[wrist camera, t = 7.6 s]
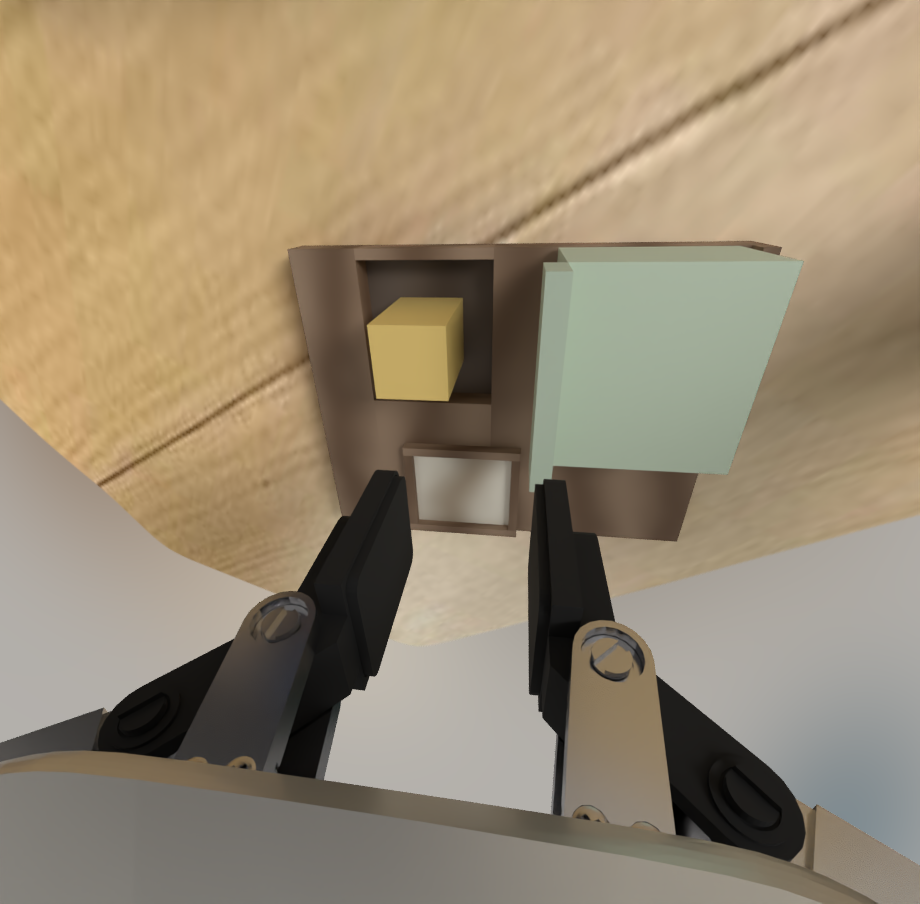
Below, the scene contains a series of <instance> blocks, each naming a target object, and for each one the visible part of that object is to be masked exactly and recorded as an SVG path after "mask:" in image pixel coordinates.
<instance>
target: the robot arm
mask: <svg viewBox="0 0 920 904" xmlns="http://www.w3.org/2000/svg"><path fill="white" fill-rule="evenodd" d="M412 559H413V547H412V537H411V527H410V518H409V508H408V498H407V488H406V480H405V477H404V476H399V474H398V471H394V470H376V471H375V472H374V474H373V475H372V477H371V479H370V481H369V483H368V485H367V486H366V488H365V490H364V492H363V494H362V496H361V497H360V499H359V501H358V503H357V505H356V507H355V508H354V510H353V512H352V514H351V516H342V517H341V518H340V519H339V520H338V522H337V523H336V525H335V527H334V529H333V530H332V532H331V534H330V536H329V537H328V539H327V541H326V542H325V544H324V546H323V548H322V549H321V551H320V553H319V555H318V556H317V558H316V560H315V562H314V563H313V565H312V567H311V569H310V570H309V572H308V574H307V576H306V577H305V579H304V581H303V583H302V584H301V586H300V588H299V589H298V591H297V592H295V591H288V592H281V593H278V594H275V595H272V596H270V597H268V598H266V599H264V600H263V601H261V602H259V603H258V604H257V605H256V606H255V607H254V608H253V609H252V610H251V611H250V612H249V613H248V615H247V616H246V618H245V619H244V621H243V623H242V625H241V627H240V629H239V631H238V633H237V635H236V637H235V639H233V640H231V641H229V642H227V643H225V644H223V645H221V646H219V647H217V648H215V649H213V650H211V651H209V652H208V653H206V654H204V655H202V656H200V657H198V658H196V659H194V660H192V661H190V662H188V663H186V664H184V665H182V666H181V667H179V668H177V669H175V670H173V671H171V672H169V673H167V674H165V675H163V676H161V677H159V678H157V679H155V680H153V681H151V682H149V683H148V684H146V685H144V686H142V687H140V688H139V689H137V690H135V691H134V692H132V693H131V694H129V695H128V696H127V697H125V698H124V699H123V700H122V701H121V702H120V703H119V704H118V705H116V707H115V708H114V709H113V710H112V711H110V712H107V711H106V709H105V708H101V709H98V710H96V711H93V712H89V713H86V714H83V715H81V716H78V717H75V718H72V719H69V720H66V721H63V722H60V723H57V724H54V725H51V726H48V727H46V728H42V729H40V730H37V731H34V732H31V733H28V734H25V735H22V736H19V737H16V738H13V739H10V740H7V741H5V742H1V743H0V904H920V865H918V864H916V863H915V862H913V861H911V860H910V859H908V858H906V857H904V856H903V855H901V854H899V853H898V852H896V851H894V850H893V849H891V848H889V847H888V846H886V845H884V844H883V843H881V842H879V841H878V840H876V839H874V838H872V837H871V836H869V835H868V834H866V833H864V832H863V831H861V830H859V829H857V828H856V827H854V826H852V825H851V824H849V823H847V822H846V821H844V820H842V819H841V818H839V817H837V816H836V815H834V814H832V813H831V812H829V811H827V810H825V809H824V808H822V807H821V806H819V805H816V806H815V807H814V808H813V809H812V808H810V807H808V806H806V805H805V804H803V803H802V802H800V801H798V800H797V799H795V797H794V795H793V794H792V793H791V791H790V790H789V788H788V787H787V786H786V784H785V783H784V781H783V780H782V779H781V778H780V777H779V776H778V775H777V774H776V773H775V772H773V770H772V769H771V768H770V767H768V766H767V765H766V764H765V763H764V762H762V761H761V760H760V759H759V758H758V757H756V756H755V755H754V754H753V753H751V752H750V751H749V750H748V749H746V748H745V747H744V746H743V745H742V744H740V743H739V742H738V741H736V740H735V739H734V738H733V737H732V736H731V735H729V734H728V733H727V732H726V731H724V730H723V729H722V728H721V727H719V726H718V725H717V724H716V723H715V722H713V721H712V720H711V719H710V718H708V717H707V716H706V715H705V714H703V713H702V712H701V711H700V710H699V709H697V708H696V707H695V706H694V705H692V704H691V703H690V702H689V701H687V700H686V699H685V698H684V697H683V696H681V695H680V694H679V693H678V692H676V691H675V690H674V689H673V688H671V687H670V686H669V685H668V684H667V683H665V682H664V681H663V680H662V679H660V678H659V677H658V676H657V675H656V672H655V664H654V659H653V656H652V653H651V650H650V649H649V647H648V645H647V644H646V643H645V641H644V640H643V639H642V638H641V637H640V636H639V635H638V634H637V633H636V632H635V631H633V630H631V629H630V628H628V627H626V626H624V625H622V624H619V623H616V622H615V619H614V615H613V609H612V605H611V600H610V595H609V590H608V586H607V581H606V576H605V571H604V566H603V562H602V557H601V552H600V547H599V543H598V538H597V535H596V534H595V533H587V532H573V529H572V522H571V514H570V507H569V500H568V493H567V486H566V481H565V480H556V479H544V480H543V484H535V490H534V502H533V514H532V526H531V538H530V550H529V563H528V620H529V694H530V695H538V703H539V704H538V705H539V712H542V716H543V719H544V720H545V721H546V722H547V723H548V724H549V726H550V727H551V728H552V729H553V730H554V731H555V732H556V733H557V736H556V751H555V764H554V777H553V791H552V806H551V814H544V813H538V812H532V811H525V810H519V809H512V808H505V807H499V806H493V805H486V804H480V803H473V802H467V801H460V800H453V799H447V798H440V797H433V796H427V795H420V794H413V793H407V792H400V791H393V790H386V789H379V788H373V787H365V786H359V785H353V784H346V783H339V782H332V781H326V780H324V776H325V772H326V767H327V763H328V758H329V754H330V750H331V745H332V741H333V737H334V732H335V728H336V724H337V719H338V715H339V711H340V706H341V700H343V699H344V698H346V697H347V696H349V695H350V694H351V691H352V689H356V690H365V688H366V685H367V682H368V679H369V676H376V675H377V673H378V671H379V668H380V664H381V661H382V658H383V655H384V651H385V648H386V645H387V642H388V639H389V635H390V632H391V629H392V626H393V622H394V619H395V616H396V613H397V609H398V606H399V603H400V600H401V596H402V593H403V590H404V587H405V583H406V580H407V577H408V574H409V570H410V567H411V564H412Z"/></svg>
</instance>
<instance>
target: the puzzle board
mask: <svg viewBox="0 0 920 904" xmlns="http://www.w3.org/2000/svg"><path fill="white" fill-rule="evenodd" d="M662 246H743V247H747V248H751V249H755V250H759V251H764V252H768V253H772V254H776V255H780V252H781V249H782V247H778V246H773V245H768V244H763V243H758V242H754V241H727V242H631V243H534V244H437V245H340V246H300V247H296V248H291V249H288V254H289V259H290V264H291V269H292V274H293V279H294V284H295V288H296V293H297V298H298V303H299V308H300V313H301V318H302V323H303V327H304V332H305V337H306V342H307V347H308V352H309V357H310V362H311V367H312V371H313V376H314V381H315V386H316V391H317V396H318V401H319V406H320V410H321V415H322V420H323V425H324V430H325V435H326V440H327V445H328V449H329V454H330V459H331V464H332V469H333V474H334V479H335V484H336V489H337V493H338V498H339V503H340V508H341V513H342V516H351V514H352V512H353V510H354V508H355V507H356V505H357V503H358V501H359V499H360V497H361V496H362V494H363V492H364V490H365V488H366V486H367V485H368V483H369V481H370V479H371V477H372V475H373V474H374V472H375V471H376V470H394V471H398V474H399V476H404V477H405V480H406V488H407V498H408V508H409V518H410V527H411V530H424V531H437V532H451V533H465V534H479V535H493V536H507V537H516V530H521V531H531V526H532V514H533V502H534V492H529V455H530V441H531V427H532V414H533V400H534V386H535V372H536V358H537V344H538V330H539V317H540V303H541V289H542V275H543V262H557V259H558V248H559V247H662ZM400 297H424V298H463V336H464V361H463V364H462V366H461V369H460V372H459V374H458V377H457V380H456V382H455V385H454V388H453V390H452V393H451V396H450V398H449V401H431V400H402V399H376V391H375V383H374V376H373V368H372V360H371V353H370V345H369V337H368V329H367V325H368V324H369V323H370V322H371V321H372V320H374V319H375V318H376V317H377V316H378V315H380V314H381V313H382V312H383V311H385V310H386V309H387V308H388V307H389V306H391V305H392V304H393V303H394V302H395V301H397V300H398V299H399V298H400ZM697 476H698V473H685V472H666V471H646V470H627V469H607V468H588V467H568V466H553V470H552V479H556V480H565V481H566V486H567V493H568V500H569V507H570V514H571V522H572V529H573V532H587V533H595V534H596V535H597V536H606V537H621V538H635V539H649V540H663V541H677V539H678V536H679V533H680V530H681V527H682V523H683V520H684V517H685V514H686V511H687V507H688V504H689V501H690V498H691V495H692V492H693V488H694V485H695V482H696V479H697Z"/></svg>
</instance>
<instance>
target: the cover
mask: <svg viewBox="0 0 920 904" xmlns="http://www.w3.org/2000/svg"><path fill="white" fill-rule="evenodd" d="M803 262H804V261H801V260H797V259H793V258H789V257H784V256H780V255H776V254H772V253H768V252H764V251H759V250H755V249H751V248H747V247H743V246H662V247H559V248H558V259H557V262H543V275H542V289H541V303H540V317H539V330H538V344H537V358H536V372H535V386H534V400H533V414H532V427H531V441H530V455H529V492H534V490H535V484H543V480H544V479H552V470H553V466H568V467H588V468H607V469H627V470H646V471H666V472H685V473H705V474H724V475H728V472H729V469H730V467H731V464H732V461H733V458H734V455H735V453H736V450H737V447H738V444H739V441H740V439H741V436H742V433H743V430H744V427H745V424H746V422H747V419H748V416H749V413H750V410H751V408H752V405H753V402H754V399H755V396H756V394H757V391H758V388H759V385H760V382H761V380H762V377H763V374H764V371H765V368H766V366H767V363H768V360H769V357H770V354H771V352H772V349H773V346H774V343H775V340H776V338H777V335H778V332H779V329H780V326H781V324H782V321H783V318H784V315H785V312H786V310H787V307H788V304H789V301H790V298H791V296H792V293H793V290H794V287H795V284H796V282H797V279H798V276H799V273H800V270H801V267H802V265H803Z"/></svg>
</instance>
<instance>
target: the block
mask: <svg viewBox="0 0 920 904" xmlns="http://www.w3.org/2000/svg"><path fill="white" fill-rule="evenodd" d="M367 329H368V337H369V345H370V353H371V360H372V368H373V376H374V383H375V391H376V399H402V400H431V401H449V398H450V396H451V393H452V390H453V388H454V385H455V382H456V380H457V377H458V374H459V372H460V369H461V366H462V364H463V361H464V336H463V298H424V297H400V298H399V299H398V300H397V301H395V302H394V303H393V304H392V305H391V306H389V307H388V308H387V309H386V310H385V311H383V312H382V313H381V314H380V315H378V316H377V317H376V318H375V319H374V320H372V321H371V322H370V323H369V324H368V325H367Z"/></svg>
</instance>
